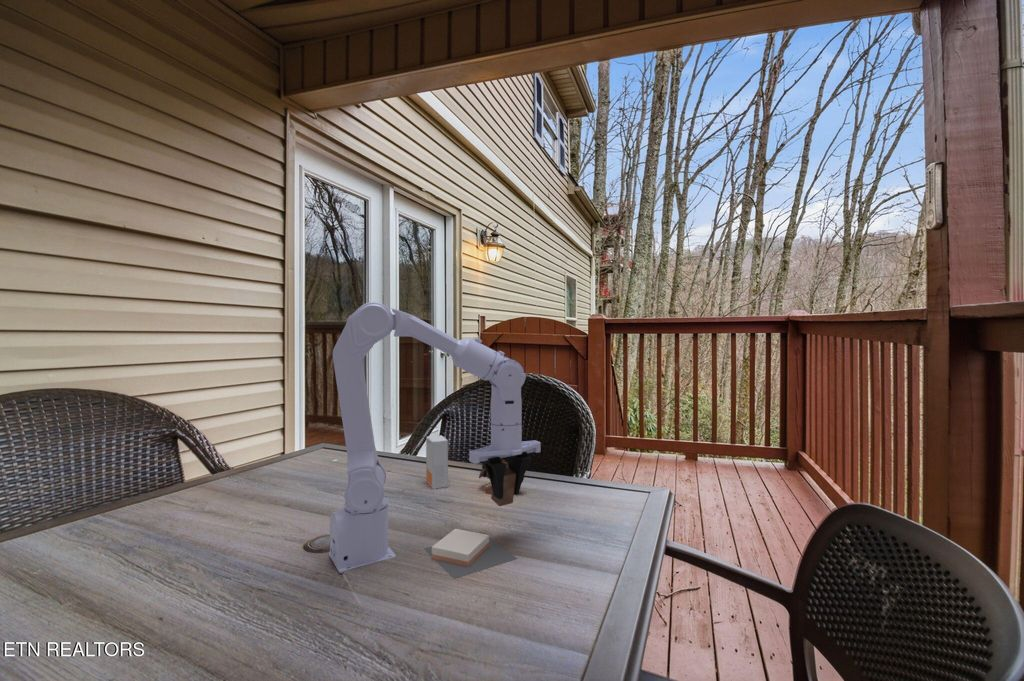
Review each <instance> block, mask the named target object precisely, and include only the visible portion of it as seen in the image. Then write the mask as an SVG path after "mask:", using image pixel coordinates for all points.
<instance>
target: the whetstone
mask: <svg viewBox="0 0 1024 681" xmlns="http://www.w3.org/2000/svg"><path fill="white" fill-rule="evenodd" d="M480 533H481V532H480ZM480 533H479V532H476V531H475V532H474V531H469V530H464V529H461V528H460V529H459V528H454V529H452V530H451V531H450V532H449V533H447V534H446V535H445V536H444V537H443V538H441V539H440V540H439V541H437V542H436V543H434V544H433V545H432V546H431V547H432V556H431V559H432V560H435V559H436V560H440V561H445V562H449V563H453V564H458V565H462V566H467V567H469V566H470V565H471V564H472V563H473V562H474V561H475V560H476V559H477V558H478V557H479V556H480V555H481V554H482V553H483V552H484V551H485V550H486V549H487V548H488V547H489V538H490V535H489V534H485V533H484V534H480ZM436 560H435V561H436Z"/></svg>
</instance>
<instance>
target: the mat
mask: <svg viewBox="0 0 1024 681" xmlns="http://www.w3.org/2000/svg"><path fill="white" fill-rule="evenodd" d="M480 534H485V533H483V532H480ZM424 550H425V552H426V553H427V554H429V555H430V557H432V546H430V547H429V546H428V547H426V548H424ZM517 559H518V557H517V556H515V555H514V554H512V552H510V551H508V549H506V548H504V547H503V546H502V545H500V544H499V543H497V542H496V541H494V540H493V539H492V538H490V537H489V547H488V548H487V549H486V550H485V551H484V552H483V553H482V554H481V555H480V556H479V557H478V558H477V559H476V560H475V561H474V562H473V563H472V564H471V565H470V566H469V567H467V566H462V565H458V564H453V563H449V562H445V561H440V560H436V559H434V561H435V562H436V563H438V564H439V566H441V567H442V569H444V570H445V571H446V572H447V573H448V574H449V575H450V577H451V578H453V579H454V580H455V579H458V578H461V577H465V576H468V575H471V574H475V573H477V572H481V571H484V570H487V569H490V568H493V567H497V566H500V565H502V564H506V563H508V562H511V561H515V560H517Z"/></svg>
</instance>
